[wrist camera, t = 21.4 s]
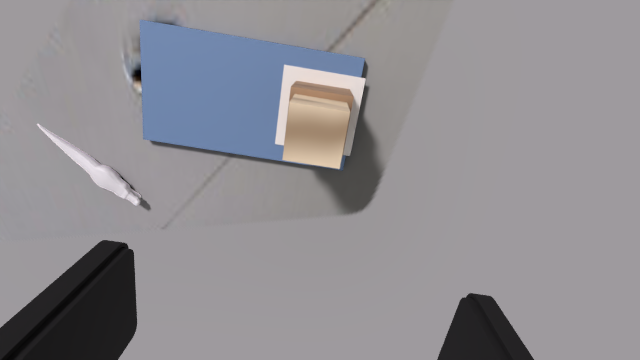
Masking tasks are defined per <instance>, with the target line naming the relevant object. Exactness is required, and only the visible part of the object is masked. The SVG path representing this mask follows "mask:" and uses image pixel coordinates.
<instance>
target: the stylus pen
mask: <svg viewBox="0 0 640 360" xmlns="http://www.w3.org/2000/svg"><path fill="white" fill-rule="evenodd" d="M37 125H38V127H39V128H40V129H41V130H42V131H43V132H44V133H45V134H46V135H47V136H48V137H49V138H50V139H51V140H52V141H53V142H54V143H56V144H57V145H58V146H59V147H60V148H61V149H62V150H63V151H64V152H65V153H66V154H67V155H68V156H70V157H71V158H72V159H73V160H74V161H75V162H76V163H77V164H78V165H79V166H81V167H82V168H83V169H84V170H85V171H86V172H87V173H88V174H89V175H90V176H91V178H92V180H93V181H94V182H95V183H96V184H97V185H98V186H100V187H102V188H104V189H106V190H109V191H111V192H113V193H114V194H116V195H117V196H120V197H121V198H124V199H127V200H129V201H131V202H132V203H133V204H134V205H135V206H138V205H140V200H139V199H140V198H141V197H142V196H141V195H140V194H139V193H137V192H136V191H134V190H133V189H132V188H130V185H129V184H128V183H127V182H125V181H124V180H123V179H122V178H121V177H120V175H119V174H118V173H117V172H116V171H115V170H114V169H112V168H111V167H109V166H106V165H102V164H100V163H99V162H98V161H96V160H95V159H94V158H93V157H91V156H90V155H89V154H87V153H86V152H84V151H82V150H81V149H79V148H77V147H76V146H74V145H72V144H71V143H69V142H68V141H66V140H64V139H63V138H61V137H59V136H57V135H56V134H54V133H52V132H51V131H49V130H47V129H46V128H44V127H43V126H41V125H40V124H37Z"/></svg>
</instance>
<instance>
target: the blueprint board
mask: <svg viewBox="0 0 640 360" xmlns="http://www.w3.org/2000/svg"><path fill="white" fill-rule="evenodd" d="M140 45H141V78H142V112H143V139H145V140H151V141H158V142H164V143H170V144H177V145H183V146H189V147H196V148H202V149H208V150H215V151H221V152H227V153H234V154H240V155H246V156H253V157H259V158H265V159H272V160H278V161H284V162H291V161H285V160H282V159H283V151H284V141H285V132H286V123H287V115H288V106H289V98H290V89H291V86H292V85H293V84H294V82H295V81H302V82H308V83H314V84H321V85H327V86H333V87H339V88H346V89H350V90H351V92H352V94H353V96H354V99H353V104H352V109H351V115H350V120H349V126H348V131H347V136H346V142H345V147H344V153H343V157H342V159H341V164H340V169H336V168H330V167H323V166H317V165H311V164H304V163H298V162H291V163H297V164H303V165H310V166H316V167H322V168H329V169H335V170H341V171H343V167H344V162H345V157H346V156H350V154H351V149H352V144H353V139H354V134H355V129H356V124H357V119H358V114H359V109H360V104H361V99H362V94H363V89H364V84H365V79H366V78H361V76H362V71H363V66H364V61H365V58H360V57H354V56H348V55H342V54H336V53H331V52H325V51H319V50H313V49H307V48H302V47H296V46H290V45H284V44H278V43H273V42H267V41H261V40H255V39H249V38H244V37H238V36H232V35H226V34H220V33H214V32H209V31H203V30H197V29H191V28H185V27H180V26H174V25H168V24H162V23H156V22H151V21H145V20H140Z"/></svg>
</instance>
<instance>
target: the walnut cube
mask: <svg viewBox="0 0 640 360" xmlns="http://www.w3.org/2000/svg"><path fill="white" fill-rule="evenodd" d="M294 94H298V95H305V96H311V97H317V98H323V99H329V100H335V101H341V102H347V104H348V107H349V109H350V115H351V109H352V104H353V99H354V96H353V94H352V92H351V90H350V89H346V88H339V87H333V86H327V85H321V84H314V83H308V82H302V81H295V82H294V84H293V85H292V86H291V89H290V98H289V102H290V100H291V99H292V97H293V96H294ZM288 110H289V106H288ZM287 118H288V115H287ZM349 120H350V117H349ZM286 126H287V123H286ZM348 126H349V122H348ZM347 131H348V127H347ZM285 135H286V132H285ZM346 136H347V133H346ZM345 142H346V138H345ZM284 143H285V141H284ZM344 147H345V143H344ZM343 153H344V148H343ZM342 157H343V154H342Z"/></svg>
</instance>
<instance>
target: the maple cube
mask: <svg viewBox="0 0 640 360" xmlns="http://www.w3.org/2000/svg"><path fill="white" fill-rule="evenodd" d="M349 117H350V109H349V107H348V104H347V102H341V101H335V100H329V99H323V98H317V97H311V96H305V95H298V94H294V96H293V97H292V99H291V100H290V102H289V110H288V118H287V126H286V135H285V143H284V151H283V159H282V160H285V161H291V162H298V163H304V164H311V165H317V166H323V167H330V168H336V169H340V164H341V159H342V154H343V148H344V143H345V138H346V133H347V127H348V122H349Z"/></svg>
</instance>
